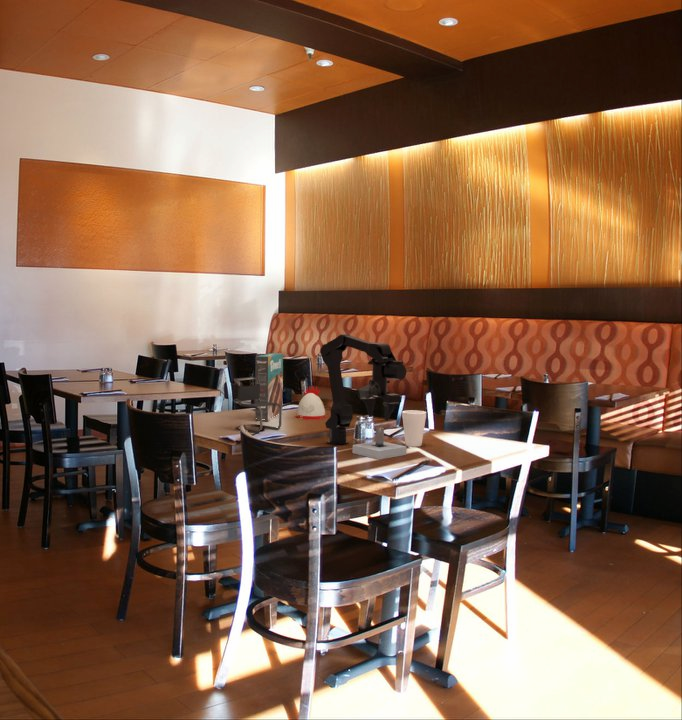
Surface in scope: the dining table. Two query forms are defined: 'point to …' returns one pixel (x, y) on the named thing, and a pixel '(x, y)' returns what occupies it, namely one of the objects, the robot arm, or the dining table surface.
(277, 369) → the cake mix box
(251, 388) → the chair
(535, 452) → the dining table surface
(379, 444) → the pin
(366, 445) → the socket block
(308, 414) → the kitchen timer
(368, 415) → the robot arm
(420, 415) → the foam cup
